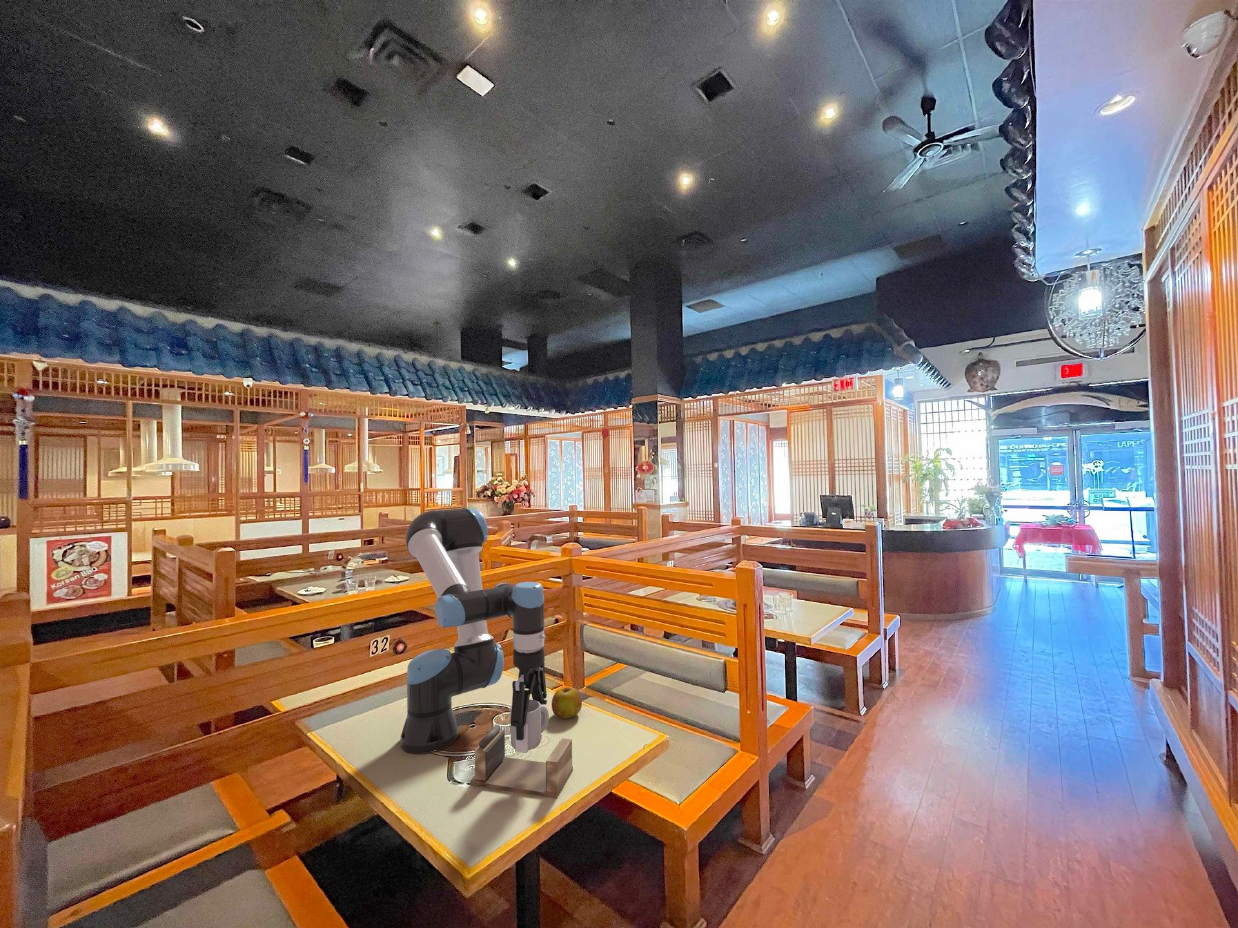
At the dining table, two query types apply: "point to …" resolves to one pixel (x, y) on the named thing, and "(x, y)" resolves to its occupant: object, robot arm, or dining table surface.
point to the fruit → (566, 703)
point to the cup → (533, 724)
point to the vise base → (532, 773)
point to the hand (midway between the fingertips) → (530, 741)
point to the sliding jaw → (489, 753)
